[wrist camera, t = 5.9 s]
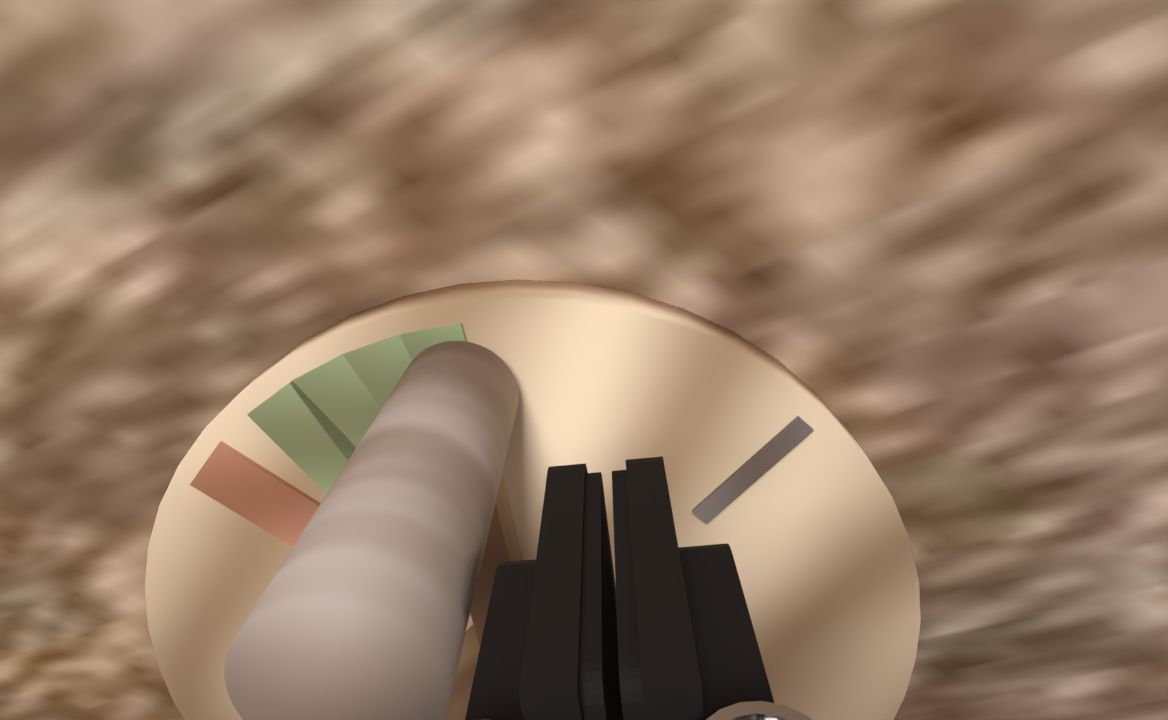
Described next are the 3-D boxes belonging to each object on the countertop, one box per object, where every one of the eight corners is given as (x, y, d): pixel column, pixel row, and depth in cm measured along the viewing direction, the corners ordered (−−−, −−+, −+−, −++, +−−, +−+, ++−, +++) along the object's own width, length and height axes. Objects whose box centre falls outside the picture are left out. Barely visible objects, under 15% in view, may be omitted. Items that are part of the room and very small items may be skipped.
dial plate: (1050, 449, 18) (1092, 483, 16) (707, 909, 26) (714, 962, 24) (253, 144, 15) (215, 151, 14) (132, 758, 23) (99, 807, 21)
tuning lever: (622, 720, 19) (640, 1132, 12) (470, 736, 20) (394, 1148, 12) (547, 323, 15) (500, 578, 7) (352, 352, 15) (113, 624, 8)
